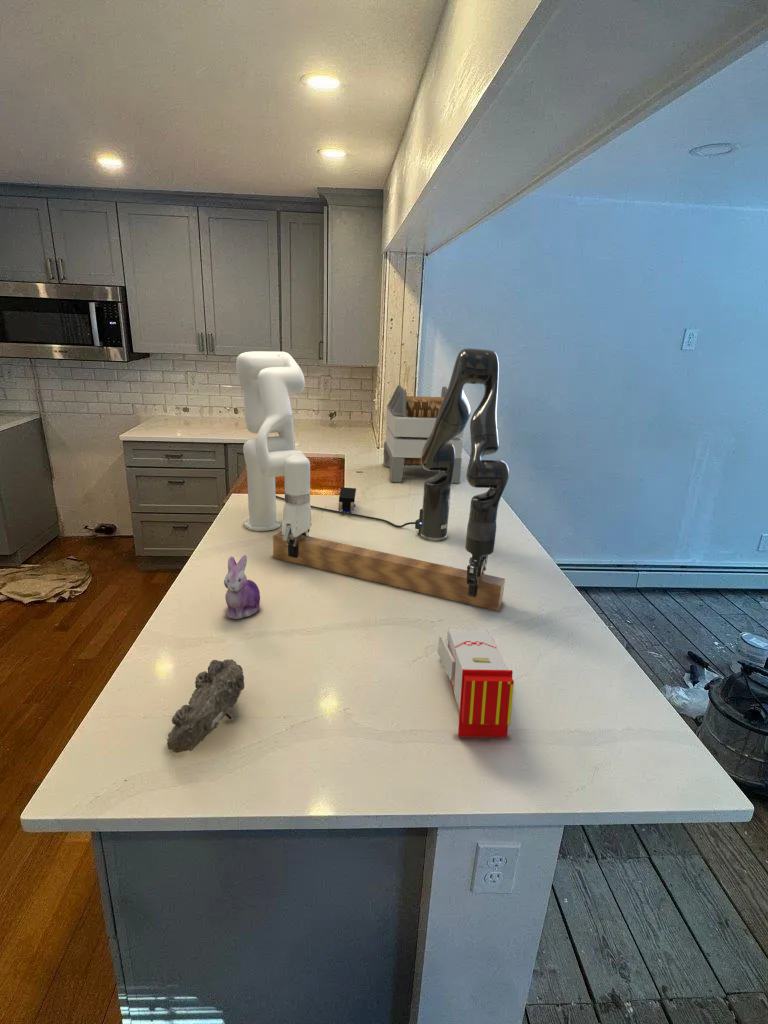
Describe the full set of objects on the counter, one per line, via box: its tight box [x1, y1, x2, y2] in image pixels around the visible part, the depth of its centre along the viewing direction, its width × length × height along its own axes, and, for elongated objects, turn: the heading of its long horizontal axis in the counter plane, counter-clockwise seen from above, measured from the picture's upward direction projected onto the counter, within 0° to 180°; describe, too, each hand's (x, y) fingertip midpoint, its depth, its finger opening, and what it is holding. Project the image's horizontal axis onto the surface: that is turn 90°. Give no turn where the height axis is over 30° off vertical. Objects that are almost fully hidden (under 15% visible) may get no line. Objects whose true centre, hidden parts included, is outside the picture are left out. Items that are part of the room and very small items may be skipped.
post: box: [272, 530, 506, 612], centre depth 165 cm, size 71×5×8 cm, turn 67°
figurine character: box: [337, 486, 357, 516], centre depth 219 cm, size 7×8×15 cm
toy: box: [437, 628, 515, 738], centre depth 117 cm, size 12×13×30 cm
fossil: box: [166, 658, 245, 754], centre depth 106 cm, size 22×10×15 cm
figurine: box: [223, 554, 261, 620], centre depth 143 cm, size 9×10×15 cm
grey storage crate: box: [383, 384, 465, 484], centre depth 268 cm, size 34×33×41 cm
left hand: (298, 552), depth 175 cm, fingers closed on post, 4 cm apart
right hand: (474, 591), depth 155 cm, fingers closed on post, 5 cm apart
